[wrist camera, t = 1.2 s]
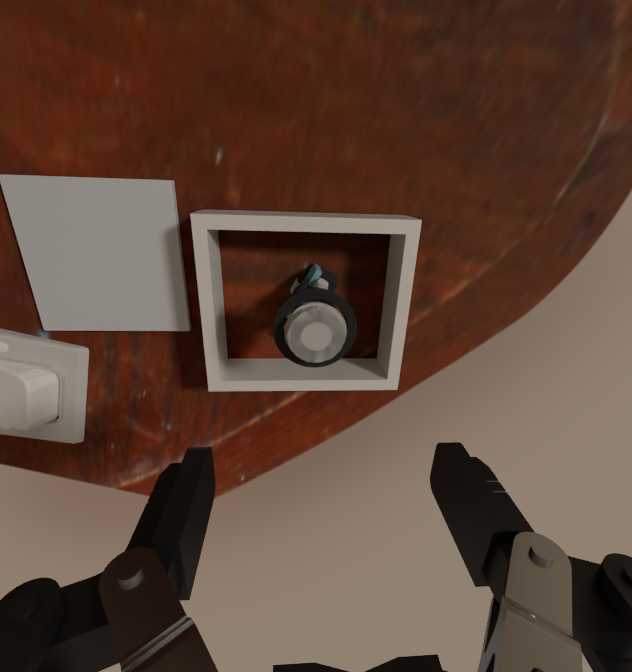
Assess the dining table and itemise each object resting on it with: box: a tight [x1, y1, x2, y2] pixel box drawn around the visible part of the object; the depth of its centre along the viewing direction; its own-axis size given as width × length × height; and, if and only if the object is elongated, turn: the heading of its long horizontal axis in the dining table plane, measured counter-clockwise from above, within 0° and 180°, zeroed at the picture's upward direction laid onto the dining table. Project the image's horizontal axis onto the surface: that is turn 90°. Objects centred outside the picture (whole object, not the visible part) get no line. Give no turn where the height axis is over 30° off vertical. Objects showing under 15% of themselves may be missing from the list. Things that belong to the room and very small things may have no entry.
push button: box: [273, 263, 357, 368], centre depth 26 cm, size 7×5×10 cm
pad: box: [0, 175, 191, 331], centre depth 28 cm, size 12×12×1 cm
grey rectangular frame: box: [190, 210, 422, 391], centre depth 29 cm, size 16×14×4 cm
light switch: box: [0, 329, 89, 444], centre depth 31 cm, size 11×4×13 cm
